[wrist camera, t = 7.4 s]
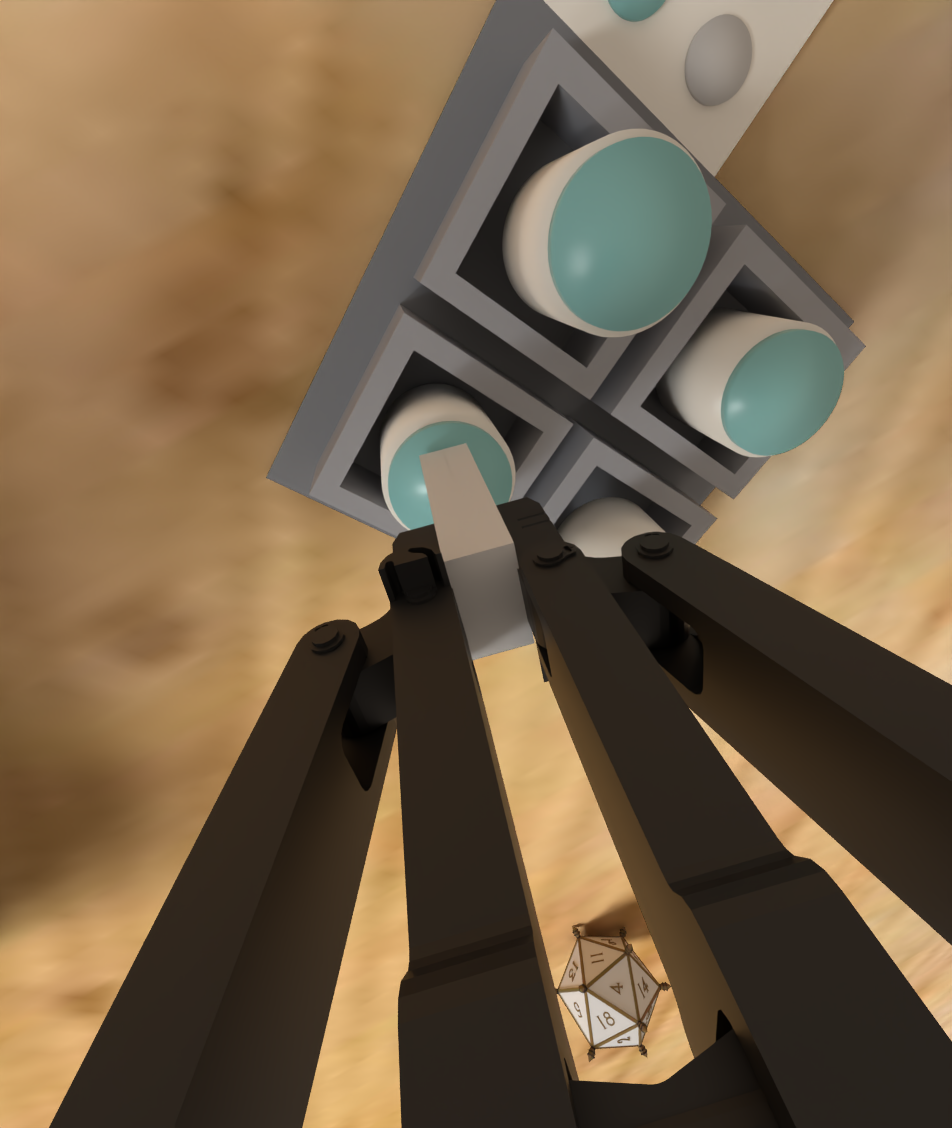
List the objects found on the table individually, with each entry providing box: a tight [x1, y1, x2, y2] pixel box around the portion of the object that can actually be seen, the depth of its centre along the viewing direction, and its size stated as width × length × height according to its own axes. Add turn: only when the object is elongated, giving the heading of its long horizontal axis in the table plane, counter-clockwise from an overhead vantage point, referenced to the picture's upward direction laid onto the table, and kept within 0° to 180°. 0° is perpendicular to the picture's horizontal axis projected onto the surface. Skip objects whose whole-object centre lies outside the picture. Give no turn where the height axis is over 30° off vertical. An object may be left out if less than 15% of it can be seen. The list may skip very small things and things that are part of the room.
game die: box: [555, 927, 671, 1062], centre depth 44 cm, size 9×8×10 cm
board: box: [266, 0, 866, 544], centre depth 21 cm, size 18×18×4 cm
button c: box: [502, 129, 712, 337], centre depth 15 cm, size 4×4×5 cm
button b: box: [557, 497, 666, 558], centre depth 21 cm, size 4×4×5 cm
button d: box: [380, 383, 516, 530], centre depth 19 cm, size 4×4×5 cm
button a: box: [656, 308, 844, 457], centre depth 20 cm, size 4×4×5 cm
